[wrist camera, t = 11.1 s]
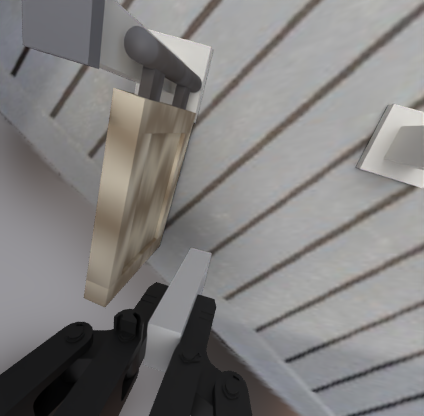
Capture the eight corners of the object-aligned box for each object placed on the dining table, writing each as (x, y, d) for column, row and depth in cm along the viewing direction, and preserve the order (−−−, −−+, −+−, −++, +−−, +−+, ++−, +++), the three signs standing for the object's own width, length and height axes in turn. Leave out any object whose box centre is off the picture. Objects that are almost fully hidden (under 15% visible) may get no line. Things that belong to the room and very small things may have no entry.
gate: (186, 71, 22) (123, 20, 12) (205, 78, 22) (157, 32, 12) (145, 240, 29) (83, 298, 19) (159, 245, 29) (104, 307, 19)
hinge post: (137, 104, 26) (-5, 73, 12) (148, 32, 23) (-16, -113, 9) (195, 122, 25) (115, 112, 11) (213, 50, 23) (138, -78, 9)
